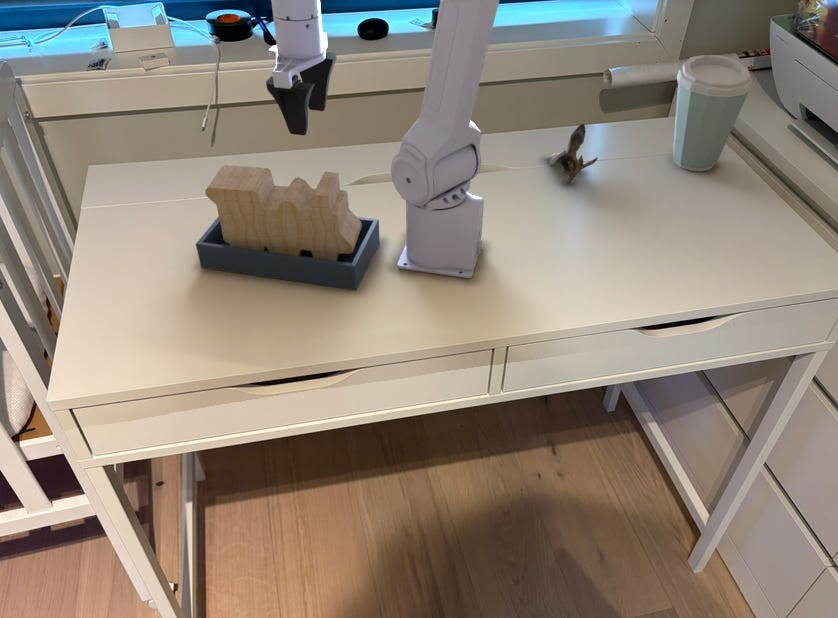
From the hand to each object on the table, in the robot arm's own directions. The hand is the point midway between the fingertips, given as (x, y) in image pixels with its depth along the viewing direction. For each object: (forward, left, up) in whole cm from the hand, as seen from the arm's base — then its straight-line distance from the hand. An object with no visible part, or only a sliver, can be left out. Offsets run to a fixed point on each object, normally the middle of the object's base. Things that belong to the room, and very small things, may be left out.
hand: (308, 121), depth 97 cm
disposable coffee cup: (-54, -23, -11) cm, 60 cm away
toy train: (-2, +16, -10) cm, 19 cm away
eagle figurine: (-35, -15, -11) cm, 40 cm away
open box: (-2, +16, -10) cm, 19 cm away
